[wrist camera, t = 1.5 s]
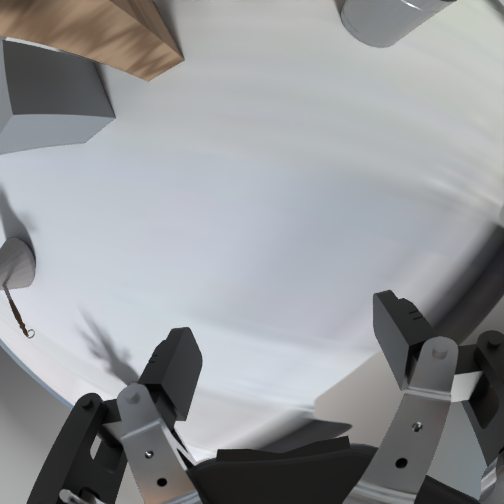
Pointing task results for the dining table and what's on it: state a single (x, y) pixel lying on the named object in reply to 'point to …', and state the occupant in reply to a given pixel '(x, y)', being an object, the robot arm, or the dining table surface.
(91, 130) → the pedestal
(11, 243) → the coffee pot
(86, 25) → the stand
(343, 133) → the dining table surface
